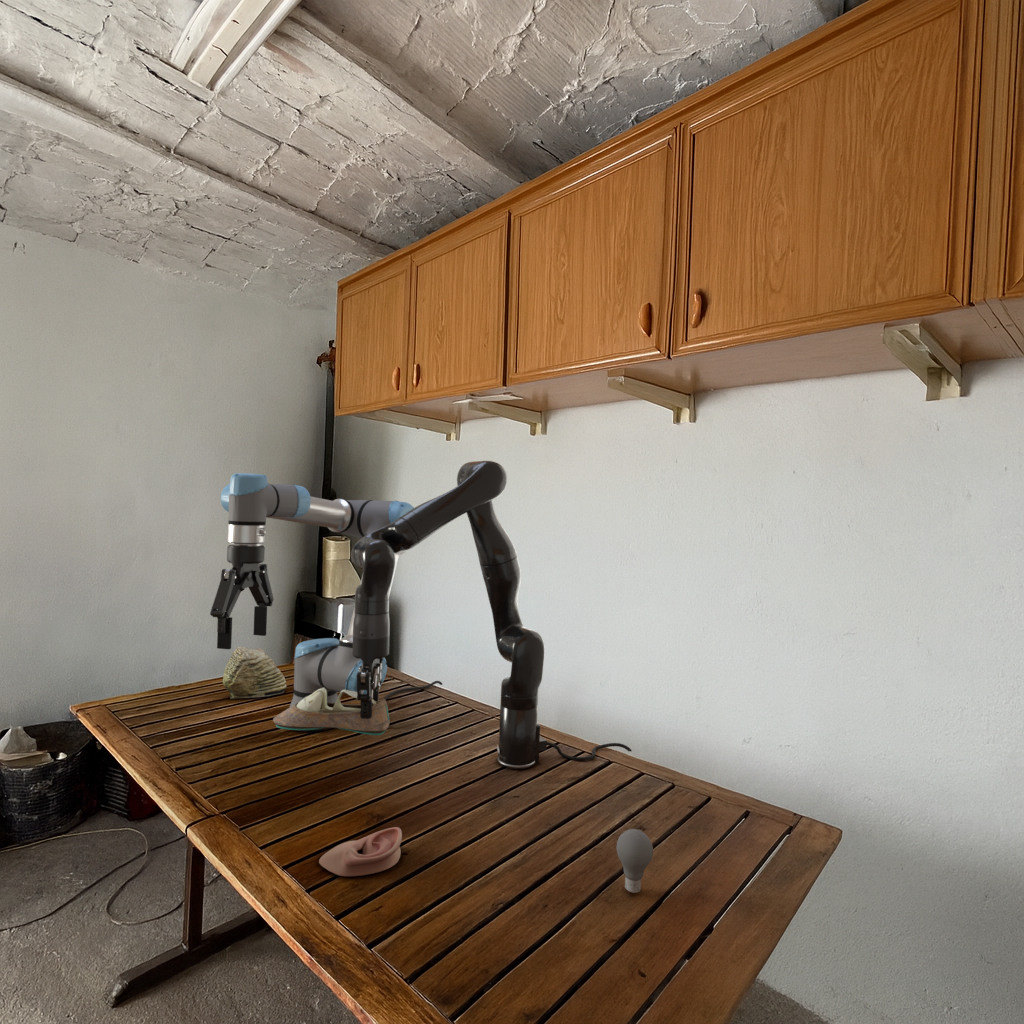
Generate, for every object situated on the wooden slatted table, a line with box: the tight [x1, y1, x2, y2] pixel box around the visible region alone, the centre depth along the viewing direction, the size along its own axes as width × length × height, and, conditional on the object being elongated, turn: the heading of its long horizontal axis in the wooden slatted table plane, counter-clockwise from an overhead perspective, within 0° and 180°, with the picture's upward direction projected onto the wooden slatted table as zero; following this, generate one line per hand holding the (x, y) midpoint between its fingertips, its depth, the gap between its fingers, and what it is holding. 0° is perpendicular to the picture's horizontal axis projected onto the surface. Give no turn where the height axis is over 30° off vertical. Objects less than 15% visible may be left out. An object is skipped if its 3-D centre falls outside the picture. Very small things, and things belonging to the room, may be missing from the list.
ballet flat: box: [272, 687, 391, 736], centre depth 134 cm, size 8×25×8 cm, turn 91°
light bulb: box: [615, 828, 654, 894], centre depth 106 cm, size 6×6×10 cm
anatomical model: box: [318, 826, 403, 877], centre depth 111 cm, size 13×4×12 cm
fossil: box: [222, 646, 288, 699], centre depth 198 cm, size 9×18×15 cm, turn 132°
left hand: (242, 641), depth 138 cm, fingers open, 13 cm apart
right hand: (369, 712), depth 133 cm, fingers closed on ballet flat, 5 cm apart
